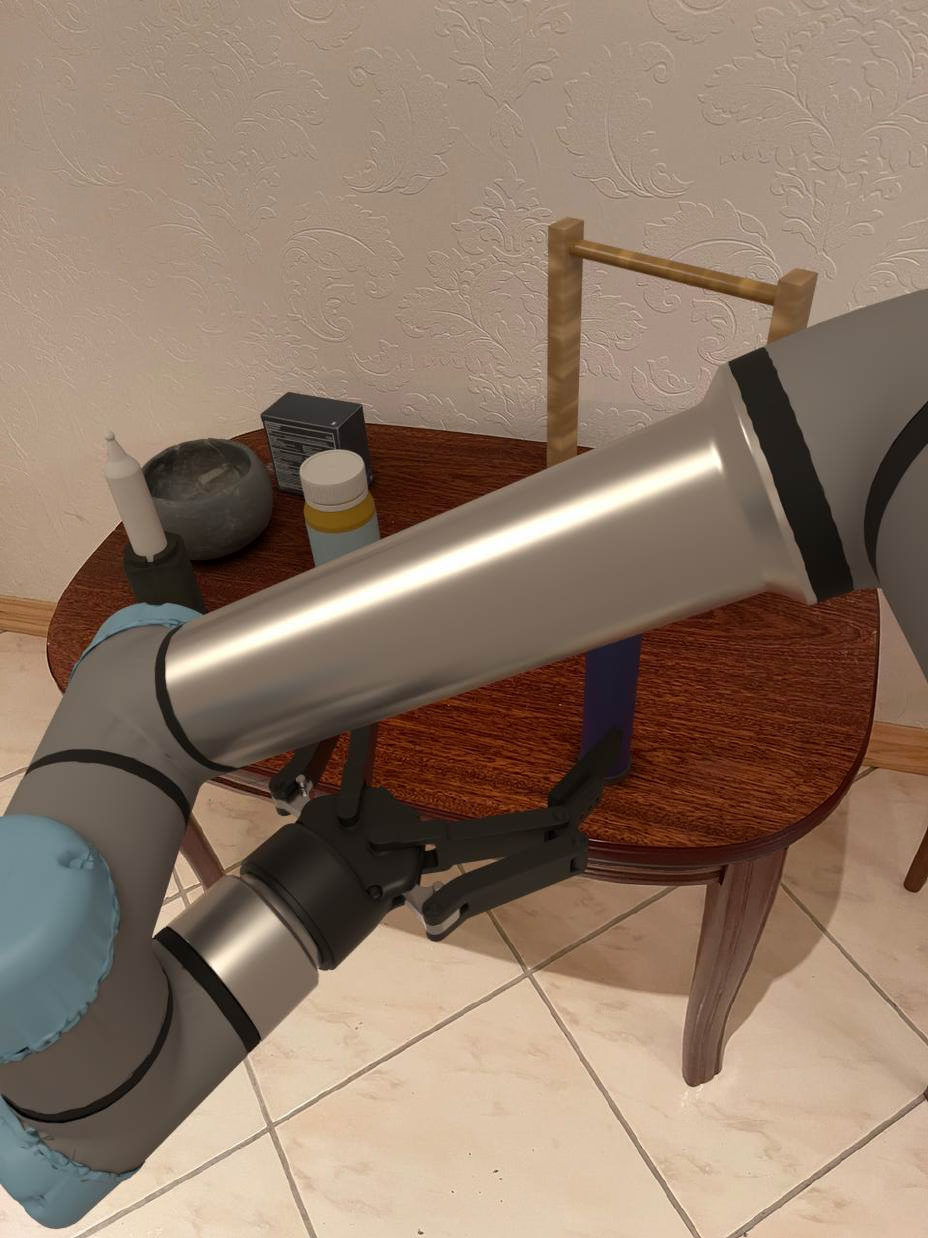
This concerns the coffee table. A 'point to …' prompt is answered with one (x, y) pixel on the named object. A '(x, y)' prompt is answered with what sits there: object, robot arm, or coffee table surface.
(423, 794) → the coffee table surface
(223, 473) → the bowl
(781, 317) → the rack
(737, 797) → the coffee table surface
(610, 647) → the umbrella
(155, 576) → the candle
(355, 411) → the small box
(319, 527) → the bottle
